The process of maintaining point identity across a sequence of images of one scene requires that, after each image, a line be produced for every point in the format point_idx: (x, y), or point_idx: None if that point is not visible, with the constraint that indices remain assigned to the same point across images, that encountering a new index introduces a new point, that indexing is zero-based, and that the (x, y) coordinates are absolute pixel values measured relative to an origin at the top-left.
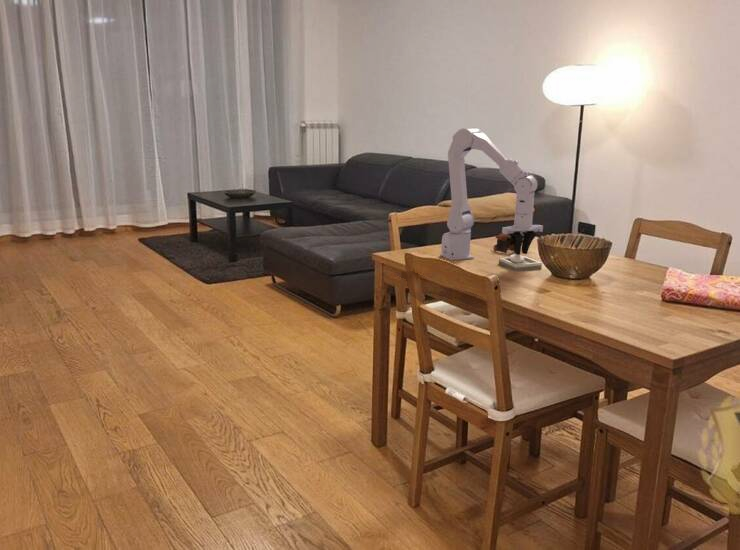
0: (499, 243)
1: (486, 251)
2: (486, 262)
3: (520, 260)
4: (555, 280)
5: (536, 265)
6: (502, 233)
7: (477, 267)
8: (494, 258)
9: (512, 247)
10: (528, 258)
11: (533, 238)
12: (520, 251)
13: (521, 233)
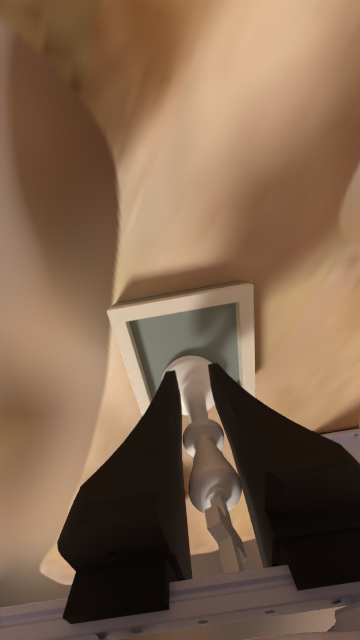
0: None
1: None
2: (274, 401)
3: (189, 360)
4: (121, 36)
5: (138, 303)
6: None
7: (343, 350)
8: None
9: None
10: (141, 383)
11: (111, 458)
12: (212, 372)
13: (233, 550)
